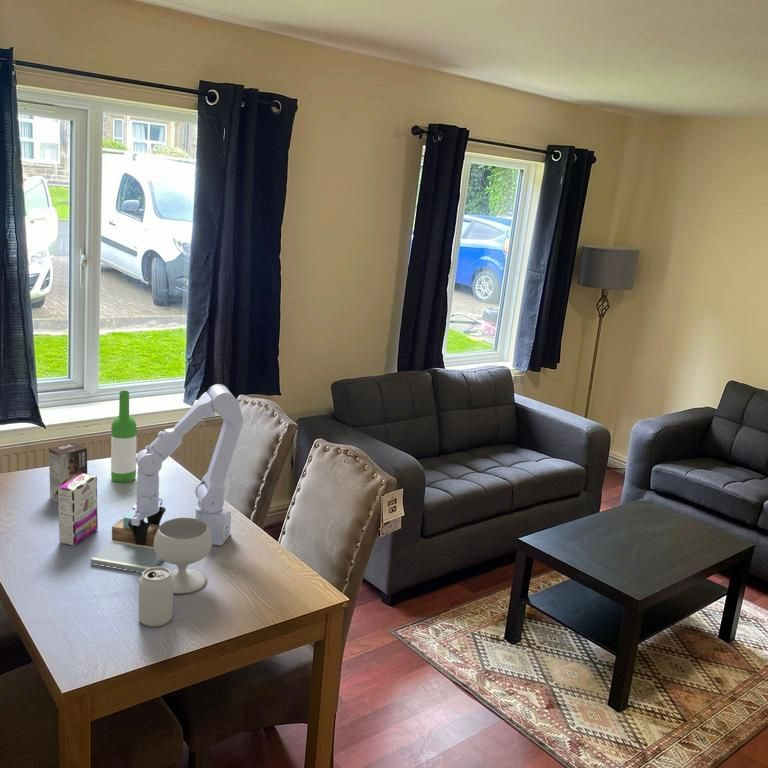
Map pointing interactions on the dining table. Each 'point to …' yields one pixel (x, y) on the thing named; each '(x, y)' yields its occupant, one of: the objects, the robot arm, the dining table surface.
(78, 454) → the coffee box
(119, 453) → the wine bottle
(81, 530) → the candy bar box
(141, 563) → the dock
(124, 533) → the tan block
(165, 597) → the can
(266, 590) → the dining table surface
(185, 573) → the chalice
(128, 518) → the teal cube block
